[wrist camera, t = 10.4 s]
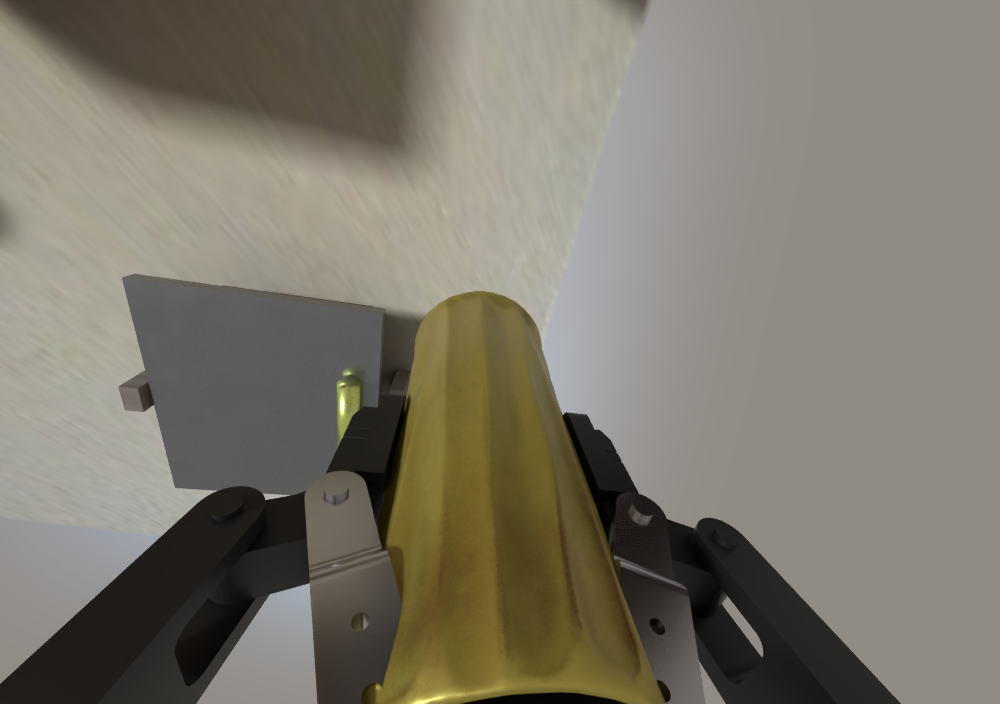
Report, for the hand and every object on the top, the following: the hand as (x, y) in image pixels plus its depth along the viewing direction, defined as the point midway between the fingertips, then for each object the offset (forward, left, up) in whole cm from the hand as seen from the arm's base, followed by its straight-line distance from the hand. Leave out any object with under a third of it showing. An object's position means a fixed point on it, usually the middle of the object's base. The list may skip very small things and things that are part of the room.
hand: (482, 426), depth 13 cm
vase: (0, 0, -6) cm, 6 cm away
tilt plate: (+11, -14, -15) cm, 24 cm away
